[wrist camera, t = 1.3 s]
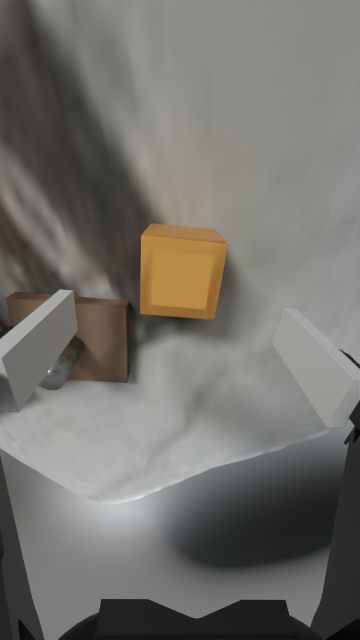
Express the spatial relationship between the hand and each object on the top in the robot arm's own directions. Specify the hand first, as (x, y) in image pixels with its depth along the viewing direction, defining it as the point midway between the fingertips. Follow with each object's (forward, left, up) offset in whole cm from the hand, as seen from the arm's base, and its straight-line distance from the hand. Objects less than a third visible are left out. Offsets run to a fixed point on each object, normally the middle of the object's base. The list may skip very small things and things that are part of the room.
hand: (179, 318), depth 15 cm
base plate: (+13, +12, -14) cm, 23 cm away
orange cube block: (0, 0, -14) cm, 14 cm away
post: (+13, +12, -12) cm, 21 cm away
